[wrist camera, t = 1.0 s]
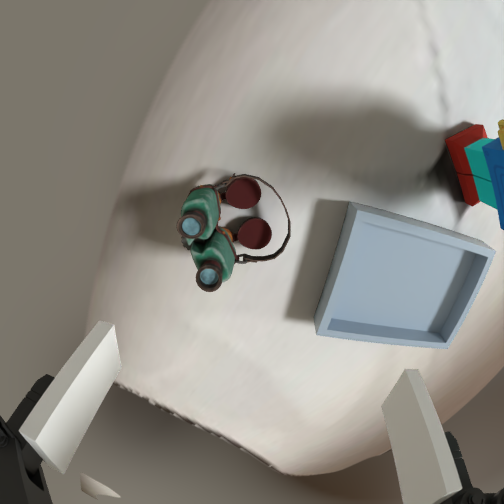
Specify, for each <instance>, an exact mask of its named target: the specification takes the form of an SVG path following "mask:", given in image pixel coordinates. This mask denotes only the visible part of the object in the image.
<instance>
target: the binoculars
mask: <svg viewBox="0 0 504 504" xmlns="http://www.w3.org/2000/svg"><path fill="white" fill-rule="evenodd" d="M234 175H235V173H234V174H233V176H232V177H230V178H229V180H225V181H223V182H222V183H220V184H218V185H215V186H214V185H211V184H208V185H200V186H198V187H196V188H194V189H192V190H191V191H190V193H189V195H188V198H187V199H186V201H185V202H184V204H183V206H182V210H181V218H180V219H179V221H178V223H177V230H178V232H179V233H180V234H181V235H182V237H181V238H182V243H183V246H184V247H186V248H187V250H191V254H192V258H193V260H194V263H195V265H196V267H197V269H198V272H197V274H196V282H197V284H198V286H199V287H200V288H201V289H202V290H204V291H206V292H213V291H216V290H217V289H218V288H219V287H220V286H221V284H222V282H225V281H227V280H228V279H229V278H230V276H231V274H232V270H233V266H234V264H235V263H240V264H246V263H247V262H257V261H267V260H271V259H275V258H276V257H277V256H279V255H280V254H281V253H282V252H283V251H284V249H285V247H286V245H287V243H288V241H289V239H290V219H289V216H288V212H287V209H286V207H285V205H284V203H283V201H282V199H281V197H280V196H279V195H278V193H277V192H276V191H275V189H274V188H273V187H272V186H271V185H269V184H268V183H266V182H265V181H264V180H262V179H260V178H259V177H255V176H251V175H246V174H242V175H238V176H234ZM233 179H234V180H233ZM255 179H257V180H260V181H261V182H263V183H264V184H266V185H267V186H269V187H270V188H272V189H273V191H274V192H275V193H276V195H277V196H278V197H279V199H280V200H281V202H282V204H283V206H284V208H285V211H286V214H287V217H288V234H287V236H286V238H285V240H284V243H283V245H282V247H281V248H280V249H279V250H277V251H276V252H275V253H274V254H271V255H267V256H250V255H247V254H240V255H236V251H235V248H234V245H233V243H232V242H234V241H236V240H239V242H240V243H241V244H242V245H243V246H245V247H247V248H250V249H261V248H263V247H265V246H266V245H267V244H268V243H269V242H270V240H271V236H272V232H271V228H270V226H269V225H268V223H267V222H266V221H265V220H263V219H261V218H257V217H254V218H250V219H248V220H246V221H245V222H244V223H243V224H242V225H241V226H240V228H239V230H238V233H236V234H233V233H232V232H231V231H230V230H228V229H227V228H223V227H218V221H219V220H220V219H221V218H220V214H221V208H220V204H221V202H222V200H224V199H226V200H227V202H228V203H229V204H230V205H232V206H233V207H236V208H239V209H248V208H251V207H253V206H255V205H256V204H257V203H258V202H259V200H260V197H261V189H260V186H259V184H258V183H257V181H256V180H255ZM232 180H233V181H232ZM227 182H228V183H227ZM229 183H230V184H229ZM228 184H229V185H228ZM227 185H228V187H227V189H226V192H224V193H221V194H220V193H219V192H218V191H217V189H219V188H222V187H225V186H227ZM242 256H243V261H239V257H242Z"/></svg>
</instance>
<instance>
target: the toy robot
mask: <svg viewBox="0 0 504 504" xmlns="http://www.w3.org/2000/svg"><path fill="white" fill-rule="evenodd" d="M498 125H499V129H500V130H499V131H498V135H499V138H497V139H489V138H487V135H486V132H485V129H484V126H483V125H478V124H475V125H473V126H471V127H469V128H467V129H465V130H463V131H461V132H459V133H457V134H455V135H453V136H451V137H449V138H447V139H445V142H446V144H447V147H448V149H449V152H450V155H451V158H452V161H453V164H454V167H455V170H456V172H457V176H458V179H459V182H460V185H461V189H462V192H463V196H464V199H465V203H467V204H469V205H471V206H474V205H476V204H477V203H479V202H480V201H481V202H483V203H485V204H487V205H489V206H491V207H493V208H495V209H497V210H498V215H499V220H500V227H501V229H503V230H504V120H500V121H499V122H498Z"/></svg>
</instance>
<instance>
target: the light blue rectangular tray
mask: <svg viewBox="0 0 504 504" xmlns="http://www.w3.org/2000/svg"><path fill="white" fill-rule="evenodd" d="M495 252H496V251H495V250H494V249H492V248H491V247H490V246H488V245H487V244H485V243H484V242H483V241H481V240H478V239H475V238H472V237H469V236H466V235H463V234H460V233H457V232H454V231H451V230H448V229H445V228H442V227H439V226H436V225H433V224H429V223H426V222H423V221H419V220H416V219H413V218H409V217H406V216H402V215H399V214H395V213H392V212H388V211H384V210H381V209H377V208H373V207H370V206H366V205H362V204H358V203H354V202H349V205H348V209H347V213H346V216H345V220H344V224H343V227H342V231H341V234H340V238H339V241H338V244H337V248H336V251H335V254H334V258H333V261H332V264H331V267H330V271H329V274H328V277H327V280H326V283H325V286H324V289H323V292H322V295H321V298H320V301H319V304H318V307H317V310H316V313H315V315H314V323H315V329H316V335H320V336H326V337H333V338H341V339H348V340H356V341H364V342H373V343H382V344H391V345H401V346H412V347H425V348H439V349H448V347H449V346H450V344H451V342H452V341H453V339H454V337H455V336H456V334H457V332H458V330H459V329H460V327H461V325H462V323H463V321H464V320H465V318H466V316H467V314H468V312H469V310H470V308H471V306H472V304H473V302H474V300H475V298H476V296H477V294H478V292H479V290H480V288H481V286H482V283H483V281H484V279H485V277H486V274H487V272H488V270H489V267H490V265H491V262H492V260H493V257H494V255H495Z"/></svg>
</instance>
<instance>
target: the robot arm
mask: <svg viewBox="0 0 504 504" xmlns="http://www.w3.org/2000/svg"><path fill="white" fill-rule="evenodd" d="M121 368H122V366H121V361H120V356H119V351H118V345H117V340H116V334H115V328H114V324H111V323H107V322H104V321H100V320H99V322H98V323H97V324H96V325H95V327H94V328H93V329H92V330H91V332H90V333H89V334H88V335H87V337H86V338H85V339H84V340H83V342H82V343H81V344H80V345H79V347H78V348H77V349H76V351H75V352H74V353H73V355H72V356H71V357H70V359H69V360H68V361H67V363H66V364H65V365H64V366H63V368H62V369H61V370H60V372H59V373H58V374H57V376H56V377H55V378H54V377H52V376H50V375H48V374H46V375H45V376H43V377H42V378H40V379H38V380H37V381H36V383H35V384H34V385H33V387H32V388H31V391H29V392H28V393H27V395H26V397H25V398H24V399H23V400H22V402H21V403H20V404H19V406H18V407H17V409H16V410H15V412H14V413H13V414H12V416H11V417H10V419H9V420H8V421H7V422H6V423H5V421H4V420H3V419H2V417H1V416H0V504H53V503H52V500H51V497H50V494H49V491H48V487H47V484H46V481H45V477H44V473H43V470H42V467H41V465H40V464H41V462H42V460H43V461H44V462H45V463H46V464H47V465H48V466H49V467H51V468H53V469H55V470H57V471H58V472H60V473H62V474H64V473H65V471H66V469H67V467H68V465H69V463H70V461H71V459H72V457H73V455H74V453H75V451H76V449H77V447H78V445H79V443H80V442H81V440H82V438H83V436H84V434H85V432H86V430H87V428H88V426H89V424H90V423H91V421H92V419H93V417H94V415H95V414H96V412H97V410H98V408H99V406H100V404H101V403H102V401H103V399H104V397H105V395H106V394H107V392H108V390H109V388H110V387H111V385H112V383H113V381H114V380H115V378H116V376H117V374H118V373H119V371H120V369H121ZM381 407H382V411H383V414H384V418H385V422H386V426H387V430H388V434H389V438H390V442H391V447H392V451H393V455H394V460H395V464H396V469H397V474H398V479H399V483H400V489H401V494H402V500H403V504H504V488H503V489H502V490H500V491H499V492H498V493H486V494H484V493H483V492H482V491H481V490H480V489H478V488H473V486H472V484H471V482H470V479H469V475H468V472H467V469H466V466H465V463H464V460H463V459H462V454H461V451H459V450H460V449H459V446H458V443H457V440H456V439H455V438H454V436H453V435H452V434H451V433H450V432H444V431H443V428H442V426H441V423H440V420H439V418H438V415H437V413H436V410H435V408H434V405H433V403H432V400H431V398H430V396H429V393H428V391H427V389H426V386H425V384H424V382H423V379H422V377H421V375H420V373H419V370H418V369H405V370H404V372H403V373H402V375H401V377H400V378H399V380H398V381H397V383H396V385H395V386H394V388H393V389H392V391H391V392H390V394H389V395H388V397H387V398H386V400H385V401H384V403H383V404H382V406H381Z"/></svg>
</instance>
